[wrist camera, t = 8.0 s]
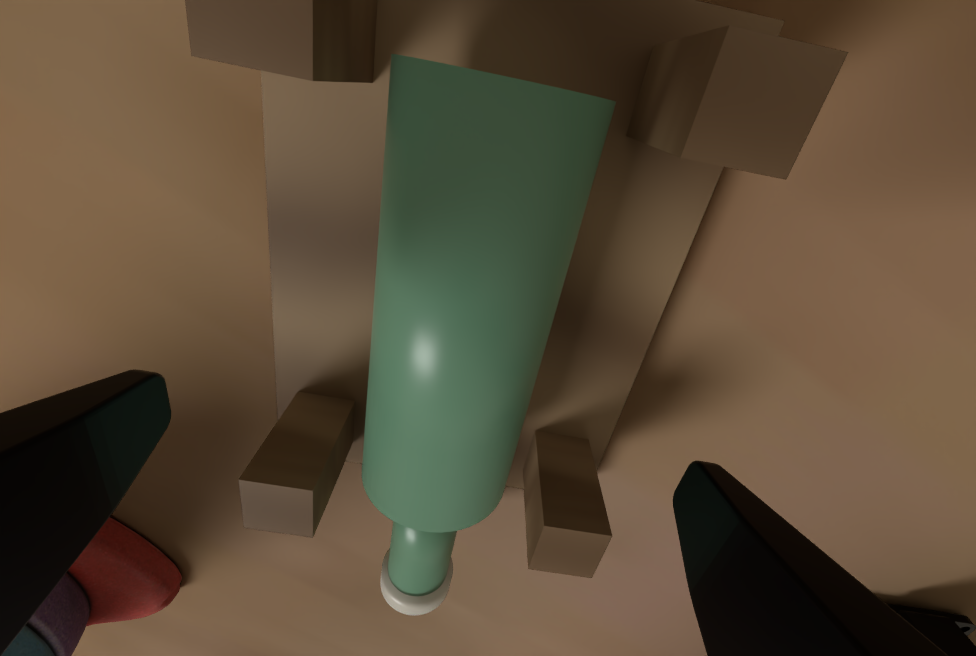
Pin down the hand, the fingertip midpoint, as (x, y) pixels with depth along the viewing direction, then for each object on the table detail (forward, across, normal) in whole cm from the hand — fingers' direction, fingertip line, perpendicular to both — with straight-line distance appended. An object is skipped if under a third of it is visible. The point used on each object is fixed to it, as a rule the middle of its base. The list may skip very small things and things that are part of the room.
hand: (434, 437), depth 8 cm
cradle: (+8, 0, 0) cm, 8 cm away
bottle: (+7, 0, +3) cm, 7 cm away
